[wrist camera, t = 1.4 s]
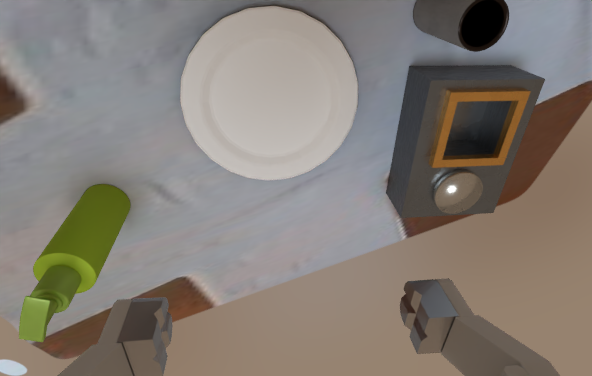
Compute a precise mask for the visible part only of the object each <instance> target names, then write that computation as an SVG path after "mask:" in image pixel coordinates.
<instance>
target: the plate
mask: <svg viewBox="0 0 592 376" xmlns="http://www.w3.org/2000/svg"><path fill="white" fill-rule="evenodd" d="M180 103H181V107H182V111H183V115H184V119H185V123H186V126H187V128H188V129H189V131H190V133H191V135H192V137H193V138H194V140H195V142H196V144H197V145H198V146H199V147H200V148H201V149H202V150H203V151H204V152H205V153H206V154H207V156H208V157H209V158H210V159H211V160H213V161H214V162H216V163H217V164H219V165H220V166H222V167H223V168H225V169H227V170H228V171H230V172H233V173H236V174H239V175H241V176H244V177H247V178H252V179H261V180H278V179H287V178H292V177H295V176H297V175H300V174H303V173H306V172H309V171H310V170H312V169H314V168H315V167H317V166H318V165H320V164H321V163H323V162H325V161H326V160H327V159H328V158H329V157H330V156H331V155H332V154H333V153H334V152H335V151H336V150H337V149H338V148H339V147H340V146H341V144H342V143H343V141H344V139H345V138H346V136H347V134H348V133H349V131H350V129H351V127H352V124H353V121H354V117H355V114H356V110H357V107H358V82H357V77H356V73H355V69H354V65H353V62H352V60H351V58H350V56H349V54H348V53H347V51H346V49H345V47H344V46H343V44H342V42H341V41H340V40H339V39H338V38H337V37H336V36H335V35H334V34H333V33H332V32H331V31H330V30H329V29H328V28H327V27H326V26H325V25H324V24H323V23H321V22H319V21H318V20H316V19H314V18H312V17H310V16H308V15H306V14H305V13H303V12H301V11H297V10H292V9H287V8H282V7H278V6H267V7H255V8H247V9H245V10H242V11H240V12H237V13H235V14H232V15H230V16H227V17H225V18H223V19H222V20H220V21H219V22H218V23H217V24H215V25H214V26H213V27H211V28H210V29H209V30H208V31H206V32H205V33H204V34H203V35H202V36H201V38H200V39H199V41H198V42H197V44H196V45H195V47H194V48H193V50H192V51H191V52H190V54H189V55H188V59H187V62H186V65H185V68H184V71H183V74H182V77H181V95H180Z"/></svg>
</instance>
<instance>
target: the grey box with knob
mask: <svg viewBox="0 0 592 376" xmlns="http://www.w3.org/2000/svg"><path fill="white" fill-rule="evenodd" d="M544 81H545V79H544V78H541V77H539V76H536V75H534V74H531V73H529V72H526V71H524V70H521V69H519V68H516V67H514V66H511V65H503V66H409V71H408V77H407V82H406V88H405V93H404V99H403V104H402V110H401V115H400V121H399V126H398V132H397V137H396V142H395V148H394V153H393V159H392V164H391V170H390V175H389V181H388V186H387V192H386V193H387V195H388V197H389V199H390V200H391V202H392V204H393V205H394V207H395V209H396V210H397V212H398V214H399V215H400V217H401V218H407V217H425V216H444V215H462V214H480V213H493V212H494V210H495V207H496V205H497V202H498V199H499V197H500V194H501V192H502V189H503V186H504V184H505V181H506V179H507V176H508V174H509V171H510V168H511V166H512V163H513V161H514V158H515V156H516V153H517V150H518V148H519V145H520V143H521V140H522V137H523V135H524V132H525V130H526V127H527V125H528V122H529V119H530V117H531V114H532V112H533V109H534V106H535V104H536V101H537V99H538V96H539V94H540V91H541V88H542V86H543V83H544Z"/></svg>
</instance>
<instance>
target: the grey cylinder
mask: <svg viewBox="0 0 592 376" xmlns="http://www.w3.org/2000/svg"><path fill="white" fill-rule="evenodd" d="M413 18H414V22H415V24H416V26H417V27H418V28H419V29H420V30H421V31H423V32H425V33H427V34H430V35H432V36H435V37H437V38H440V39H442V40H445V41H447V42H449V43H452V44H454V45H457V46H459V47H462V48H464V49H467V50H469V51H474V52H477V51H482V50H485V49H487V48H489V47H491V46H492V45H494V44H495V43H496V42H497V41H498V40H499V39H500V38H501V36H502V35H503V33H504V32H505V30H506V27H507V24H508V20H509V10H508V6H507V4H506V2H505V1H504V0H417V2H416V4H415V7H414V11H413Z"/></svg>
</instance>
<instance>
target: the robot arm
mask: <svg viewBox="0 0 592 376" xmlns="http://www.w3.org/2000/svg"><path fill="white" fill-rule="evenodd" d="M404 291H405V293H406V294H405V295H404V296H403V297H402V298H401V303H400V313H401V317H402V320H403V322H404V325H405V326H406V327H408V328H409V329H410V330H411V334H410V338H411V341H412V343H413V345H414V348H415V350H416V352H417V354H424V353H441V352H442V355H443V356H444V357H445V358H446V359H447V360H449V362H451V363H452V364H453V365H454V366H455V367H456V368H457V369H458V370H459V371H460V372H461V373H462V374H463V375H465V376H560V375H559V374H558V372H557V371H556V370H555V369H554V367H553V366H552V364H551V363H550V362H549V361H548V360H546V359H545V358H543V357H542V356H540V355H539V354H537V353H536V352H534V351H533V350H531V349H530V348H528V347H527V346H525V345H524V344H522V343H520V342H519V341H517V340H516V339H514V338H513V337H511V336H510V335H508V334H507V333H505V332H504V331H502V330H500V329H499V328H497V327H496V326H494V325H493V324H491V323H490V322H488V321H487V320H485V319H484V318H482V317H480V316H479V315H474V314H473V312H472V311H471V309H470V308H469V306H468V305H467V303H466V302H465V300H464V299H463V297H462V295H461V294H460V292H459V291H458V289H457V288H456V286H455V285H454V283H453V282H452V280H450V279H449V278H448V279H435V280H433V279H432V280H420V281H408V282H407V283H406V284H405V286H404ZM167 310H168V301H167V298H141V299H123V300H117V301H116V302H115V303H114V305H113V307H112V310H111V312H110V314H109V317H108V319H107V322H106V324H105V327H104V329H103V332H102V334H101V337H100V339H99V341H98V344H97V345H92V346H91V347H90V348H88V349H87V350H86V351H85V352H84V353H83V354H82V355H80V356H79V357H78V358H77V359H76V360H75V361H74V362H73V363H71V364H70V365H69V366H68V367H67V368H66V369H65V370H63V371H62V372H61V373H60V374H59V375H58V376H163V374H164V370H165V365H166V360H167V353H166V347H167V346H168V345H169V344H170V341H171V337H172V318H171V314H170V313H168V312H167Z"/></svg>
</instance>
